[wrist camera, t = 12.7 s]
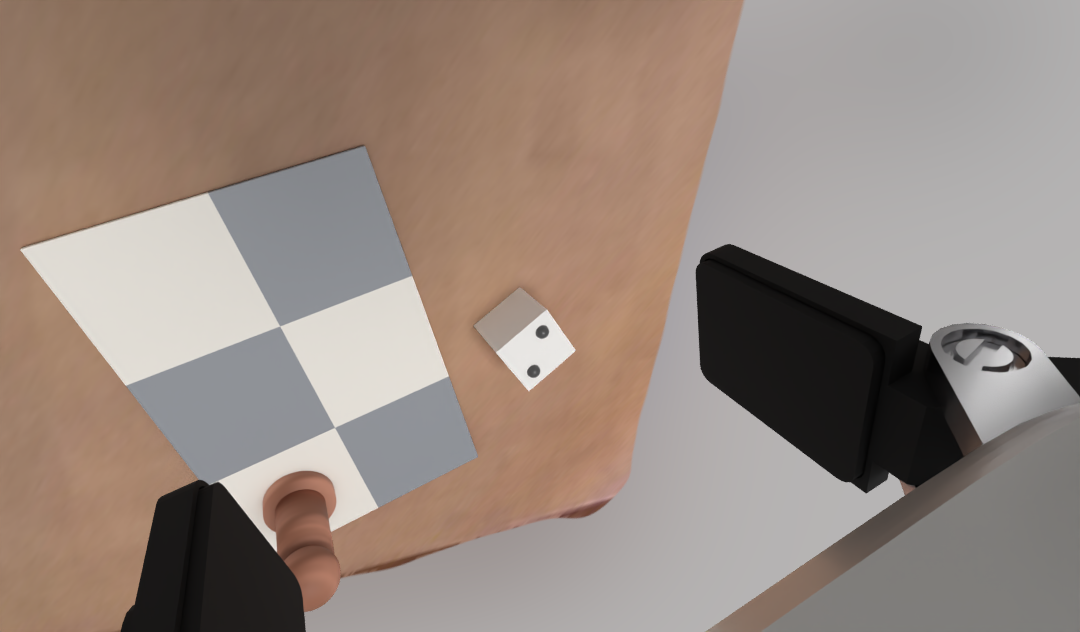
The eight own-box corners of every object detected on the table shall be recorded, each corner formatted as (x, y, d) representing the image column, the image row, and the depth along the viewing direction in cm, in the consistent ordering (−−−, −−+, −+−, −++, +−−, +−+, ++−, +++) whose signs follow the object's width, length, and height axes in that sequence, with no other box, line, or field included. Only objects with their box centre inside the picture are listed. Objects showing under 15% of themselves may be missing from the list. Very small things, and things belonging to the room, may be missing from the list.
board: (363, 145, 34) (365, 146, 34) (476, 454, 49) (478, 456, 49) (23, 247, 29) (20, 249, 28) (265, 561, 43) (265, 565, 43)
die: (519, 286, 44) (550, 312, 40) (547, 325, 47) (579, 353, 43) (472, 325, 44) (498, 355, 39) (504, 362, 46) (531, 394, 42)
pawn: (318, 459, 42) (335, 557, 33) (344, 503, 44) (366, 603, 36) (249, 491, 40) (250, 601, 32) (280, 534, 43) (288, 646, 35)
